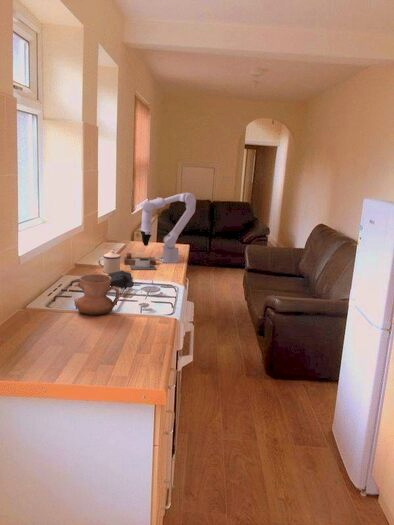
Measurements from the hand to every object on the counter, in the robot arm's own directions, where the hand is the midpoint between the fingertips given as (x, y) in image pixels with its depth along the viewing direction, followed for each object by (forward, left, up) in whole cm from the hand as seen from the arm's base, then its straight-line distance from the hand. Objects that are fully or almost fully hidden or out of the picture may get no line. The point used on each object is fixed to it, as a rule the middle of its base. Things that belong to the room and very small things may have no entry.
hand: (145, 244), depth 270 cm
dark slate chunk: (+17, +46, -11) cm, 50 cm away
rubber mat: (+2, +18, -10) cm, 21 cm away
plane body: (+3, +6, -10) cm, 12 cm away
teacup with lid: (+21, +26, -11) cm, 35 cm away
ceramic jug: (+27, +92, -11) cm, 96 cm away
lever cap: (+3, +17, -10) cm, 19 cm away
